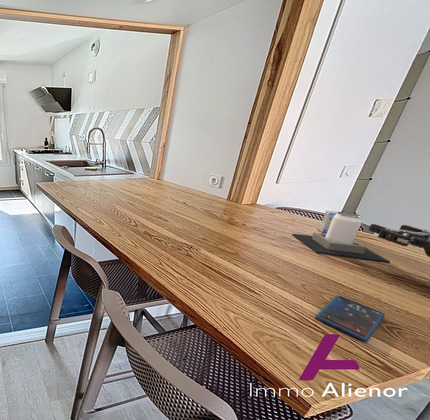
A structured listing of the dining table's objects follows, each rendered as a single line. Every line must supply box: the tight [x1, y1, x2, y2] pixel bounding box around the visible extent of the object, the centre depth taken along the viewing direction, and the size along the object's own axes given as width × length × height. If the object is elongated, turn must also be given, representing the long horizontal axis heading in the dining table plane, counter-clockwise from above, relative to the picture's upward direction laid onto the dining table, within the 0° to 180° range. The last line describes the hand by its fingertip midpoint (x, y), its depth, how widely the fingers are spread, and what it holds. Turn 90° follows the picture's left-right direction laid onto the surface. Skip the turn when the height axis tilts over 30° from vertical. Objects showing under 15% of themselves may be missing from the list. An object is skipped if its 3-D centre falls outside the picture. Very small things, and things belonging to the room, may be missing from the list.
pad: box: [291, 232, 391, 264], centre depth 86 cm, size 18×16×3 cm
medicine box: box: [318, 210, 338, 234], centre depth 97 cm, size 8×4×9 cm, turn 55°
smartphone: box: [315, 294, 386, 342], centre depth 54 cm, size 8×1×15 cm
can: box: [325, 211, 363, 244], centre depth 85 cm, size 6×6×12 cm
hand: (385, 227), depth 73 cm, fingers open, 8 cm apart
